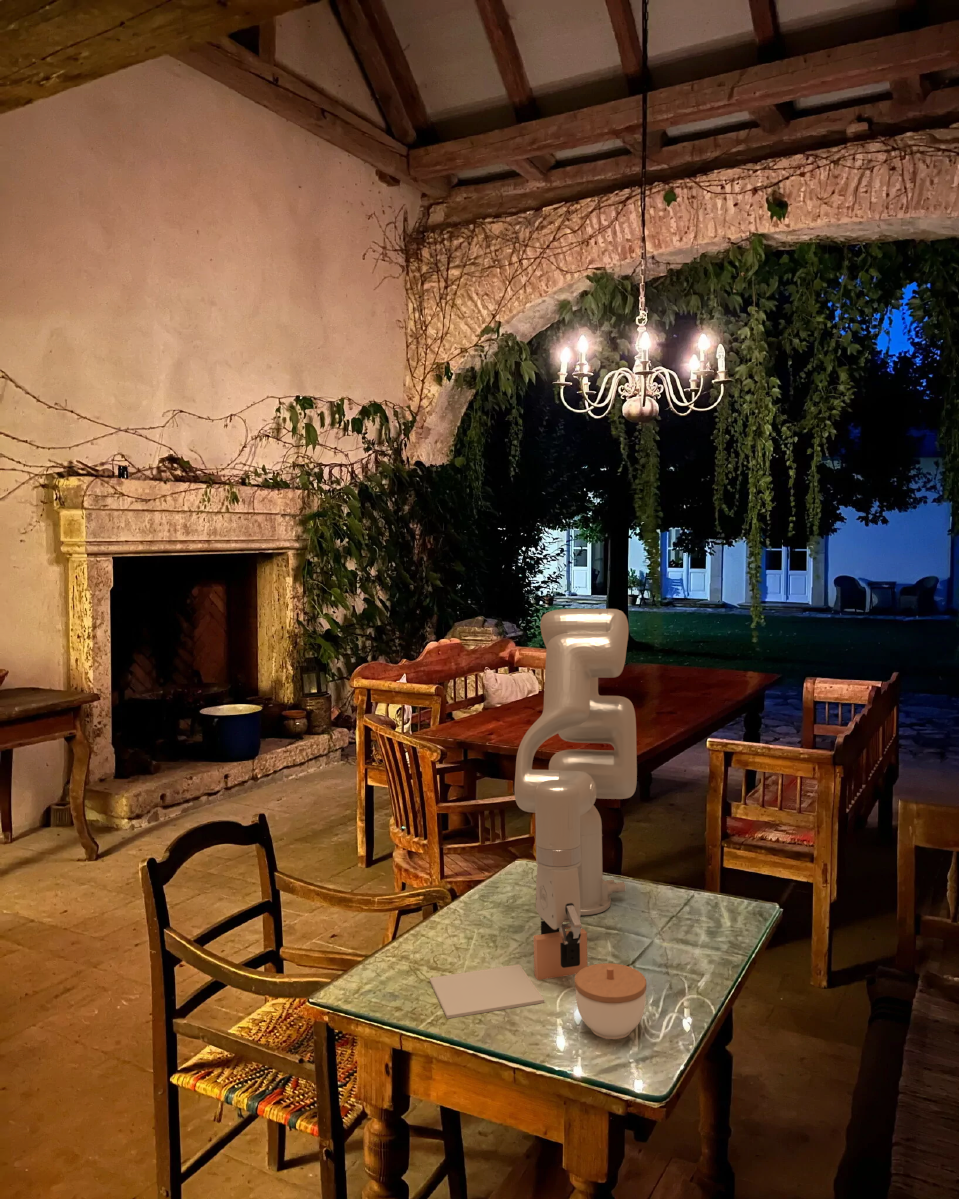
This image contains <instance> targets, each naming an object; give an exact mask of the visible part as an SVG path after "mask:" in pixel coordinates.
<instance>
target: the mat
mask: <svg viewBox="0 0 959 1199" xmlns="http://www.w3.org/2000/svg"><path fill="white" fill-rule="evenodd" d="M429 983H430V984H431V987H432V989H433V991H434V994H435V996H436V997H437V1000H438V1002H439V1004H440V1006H441V1008H442V1010H443V1012H444V1015H445V1017H446V1019H453V1018H454V1019H455V1018H460V1017H466V1016H472V1015H477V1014H484V1013H489V1012H496V1011H502V1010H508V1009H515V1008H520V1007H527V1006H532V1005H537V1004H545V999H544V997H543V996H542V994H541V993H540V991H539V990H538V989H537V987H536V986H535V984H534V983H533V982H532V980H531V978H530V977H529V976H528V974H527V973H526V971H525V970H524V969H523V967H522V965H521V964H512V965H507V966H506V965H505V966H500V967H493V968H492V967H491V968H485V969H481V970H480V969H479V970H473V971H472V970H471V971H466V972H460V973H453V974H447V975H439V976H433V977H429Z"/></svg>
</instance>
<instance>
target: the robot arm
mask: <svg viewBox="0 0 959 1199" xmlns="http://www.w3.org/2000/svg"><path fill="white" fill-rule="evenodd" d="M540 633H541V637H542V640H543V642H544V643H543V644H544V645H545V648H546V650H545V667H544V668H545V671H544V688H543V689H544V691H543V692H544V693H543V709H542V714H541V715H540V716H539V717H538V718H537V720H535V721H534V723H533V724H532V725H531V726H530V727H529V728H528V730H527V731H526V732H525V734H524V736H523V737H522V739H521V741H520V743H519V746H518V750H517V753H516V759H515V760H516V761H515V775H514V800H515V802H516V805H517V806H518V808H519V809H520V810H522V811H524V812H527V813H535V851H536V852H535V855H536V856H535V857H536V858H535V859H536V862H535V863H536V865H537V869H536V878H535V879H536V884H535V886H536V887H535V910H536V912H537V914H538V915H539V917H540V935H541V934H548V933H555V932H560V933H561V937H562V942H563V943H560V952H561V966H562V967H563V968H566V967H573V966H579V965H580V936H581V934H580V933H581V932H580V931H581V929H582V923H581V916H591V915H592V916H593V915H596V914H600V913H602V912H605V911H607V910H608V909H609V908H610V907H611V906H612V905H611V904H612V903H611V902H612V901H611V897H610V896H611V895H612V893H623V892H626V890H627V888H626V884H625V882H624V881H618V882H615V880H614V879H608V880H604V879H603V825H602V818H601V814H600V812H599V811H598V809H597V808H596V805H594V804H596V803H595V802H596V800H597V799H602V800H603V799H604V800H605V799H607V800H609V799H611V800H615V799H616V800H623V799H624V800H625V799H629V798H631V797H632V796H634V794H635V792H636V788H637V780H638V777H637V776H638V761H637V760H638V758H637V757H638V756H637V753H638V752H637V718H636V711H635V708H634V707H635V706H634V705H633V703H632V701H631V700H630V699H629V698H627V697H625V696H620V695H600V694H599V678H605V679H606V678H608V679H609V678H611V679H612V678H617V677H619V676H620V675H621V674H622V673H623V670H624V667H625V663H626V657H627V647H628V641H629V622H628V618H627V615H626V614H625V613H624V611H622V610H619V609H618V608H563V609H561V608H560V609H554V610H550V611H548V612H545V613H544V614H543V615H542V617H541V619H540ZM556 735H558V736H559V737H560V739H561V740H563V741H566V742H570V743H579V744H580V743H583V744H587V743H588V744H610V745H611V746H612V748H614V750H612V749H610V750H609V749H608V750H607V749H604V750H603V749H601V750H600V749H583V748H582V749H574V748H572V749H564V750H559V751H558V752H555V754H553V755H552V757H551V758H550V760H549V763H548V769H533V762H534V761H533V760H534V756H535V754H536V752H537V751H538V749H539V748H540V746H541V745H543V743H545V741H547V740H548V739H550V738H552V737H553V736H556ZM567 922H568V923H567ZM567 930H568V931H569V930H571V931H569V933H568V934H567V936H566V931H567Z"/></svg>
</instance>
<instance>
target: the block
mask: <svg viewBox="0 0 959 1199" xmlns="http://www.w3.org/2000/svg"><path fill="white" fill-rule="evenodd" d="M565 931H566V936H567V934H568V933H569V931H571V929H568V930H565ZM580 932H581V933H580V934H581V936H580V965H579V966H573V967H566V968H563V967H562V966H561V952H560V943H563V942H562V937H561V933H560V931H559V932H555V933H548V934H541V933H540V934H535V935H533V967H534V968H533V970H534V971H533V972H534V977H535V978H536V980H537V981H540V980H546V979H553V978H559V977H560V978H561V977H566V976H572V975H576V974H577V973H578V972H579V971H580V970H581V969H583V968H585V967H587V966H588V932H587V931H586V930H585V929H584V928H581V931H580Z"/></svg>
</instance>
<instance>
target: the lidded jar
mask: <svg viewBox="0 0 959 1199" xmlns="http://www.w3.org/2000/svg"><path fill="white" fill-rule="evenodd" d="M574 987H575V999H576V1000H575V1001H576V1005H577V1010H578V1013H579V1015H580V1017H581V1019H582V1021H583V1023H584V1024H585V1025H586V1026H587V1027H588V1028H589V1029H590V1030H591V1032H592V1033H593V1035H595V1036H597V1037H599V1038H601V1039H605V1040H621V1039H624V1038H627V1037H628V1036H629V1035H630V1034H631V1033H632V1031H634V1029H636V1028H637V1027H638V1025H639V1024H640V1022H641V1021H642V1019H643V1016H644V1012H645V1009H646V1001H647V1000H646V999H647V998H646V997H647V996H646V995H647V993H646V991H647V979H646V977H645V976H644V975H643V973H642V972H640V971H639V970H638V969H636V968H633V967H631V966H627V965H626V964H625V965H624V964H620V963H609V962H607V963H597V964H596V963H595V964H590V965H587V967H585V968H583V969H581V970H580V971H579V972H578V973H577V974H575V976H574Z"/></svg>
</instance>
